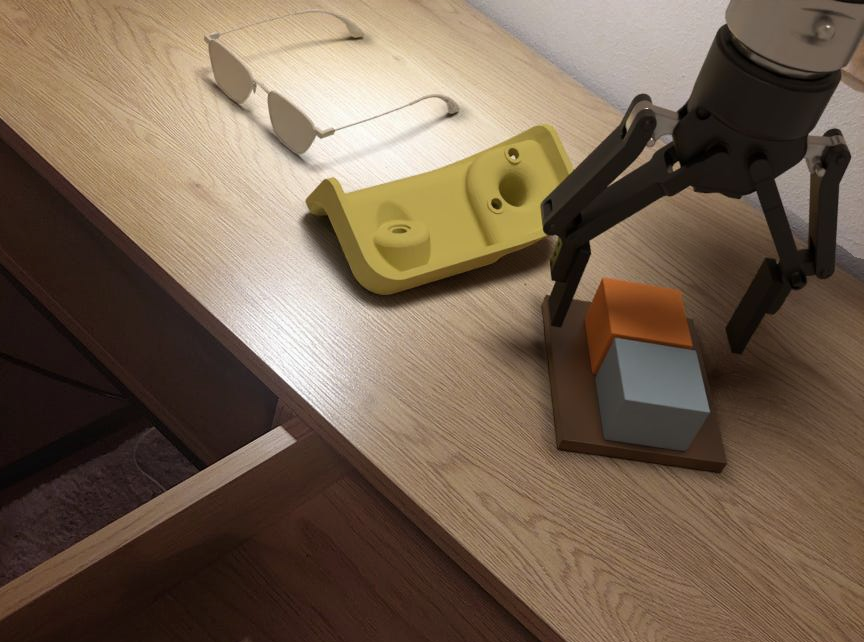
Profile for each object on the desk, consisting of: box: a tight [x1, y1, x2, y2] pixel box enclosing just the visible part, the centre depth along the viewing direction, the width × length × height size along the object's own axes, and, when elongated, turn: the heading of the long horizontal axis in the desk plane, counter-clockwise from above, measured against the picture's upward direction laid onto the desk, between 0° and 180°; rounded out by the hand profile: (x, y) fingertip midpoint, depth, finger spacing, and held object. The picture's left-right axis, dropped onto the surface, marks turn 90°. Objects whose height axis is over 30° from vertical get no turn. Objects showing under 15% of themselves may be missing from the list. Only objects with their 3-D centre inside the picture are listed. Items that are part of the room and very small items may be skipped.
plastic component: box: [304, 123, 575, 296], centre depth 83 cm, size 20×7×10 cm
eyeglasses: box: [203, 8, 461, 155], centre depth 92 cm, size 15×18×4 cm
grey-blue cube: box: [595, 338, 710, 451], centre depth 74 cm, size 6×6×4 cm
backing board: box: [541, 294, 728, 473], centre depth 78 cm, size 12×15×1 cm
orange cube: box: [584, 276, 693, 375], centre depth 78 cm, size 6×6×4 cm
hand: (644, 328), depth 77 cm, fingers open, 13 cm apart
